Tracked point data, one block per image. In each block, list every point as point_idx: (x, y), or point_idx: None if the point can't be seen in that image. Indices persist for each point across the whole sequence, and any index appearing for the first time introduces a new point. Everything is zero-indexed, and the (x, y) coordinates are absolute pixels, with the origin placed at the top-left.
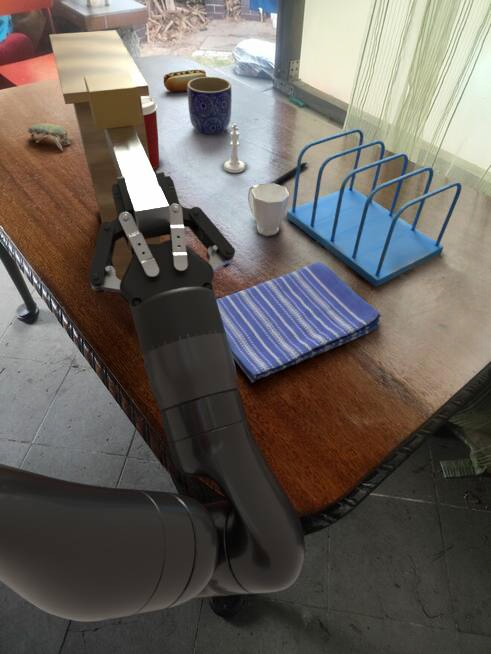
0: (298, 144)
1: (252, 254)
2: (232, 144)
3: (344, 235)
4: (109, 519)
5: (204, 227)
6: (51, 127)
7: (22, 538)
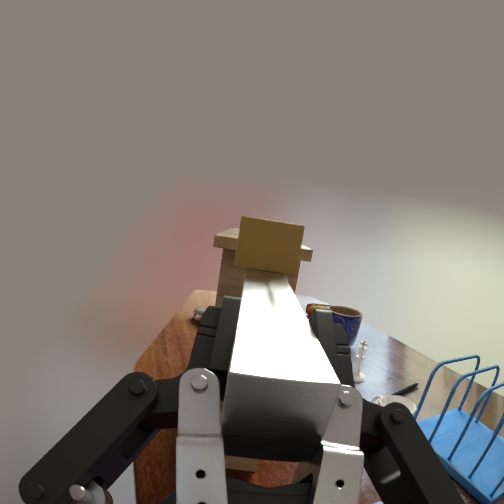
0: (409, 368)
1: (363, 466)
2: (358, 357)
3: (459, 454)
4: None
5: (412, 459)
6: None
7: None
